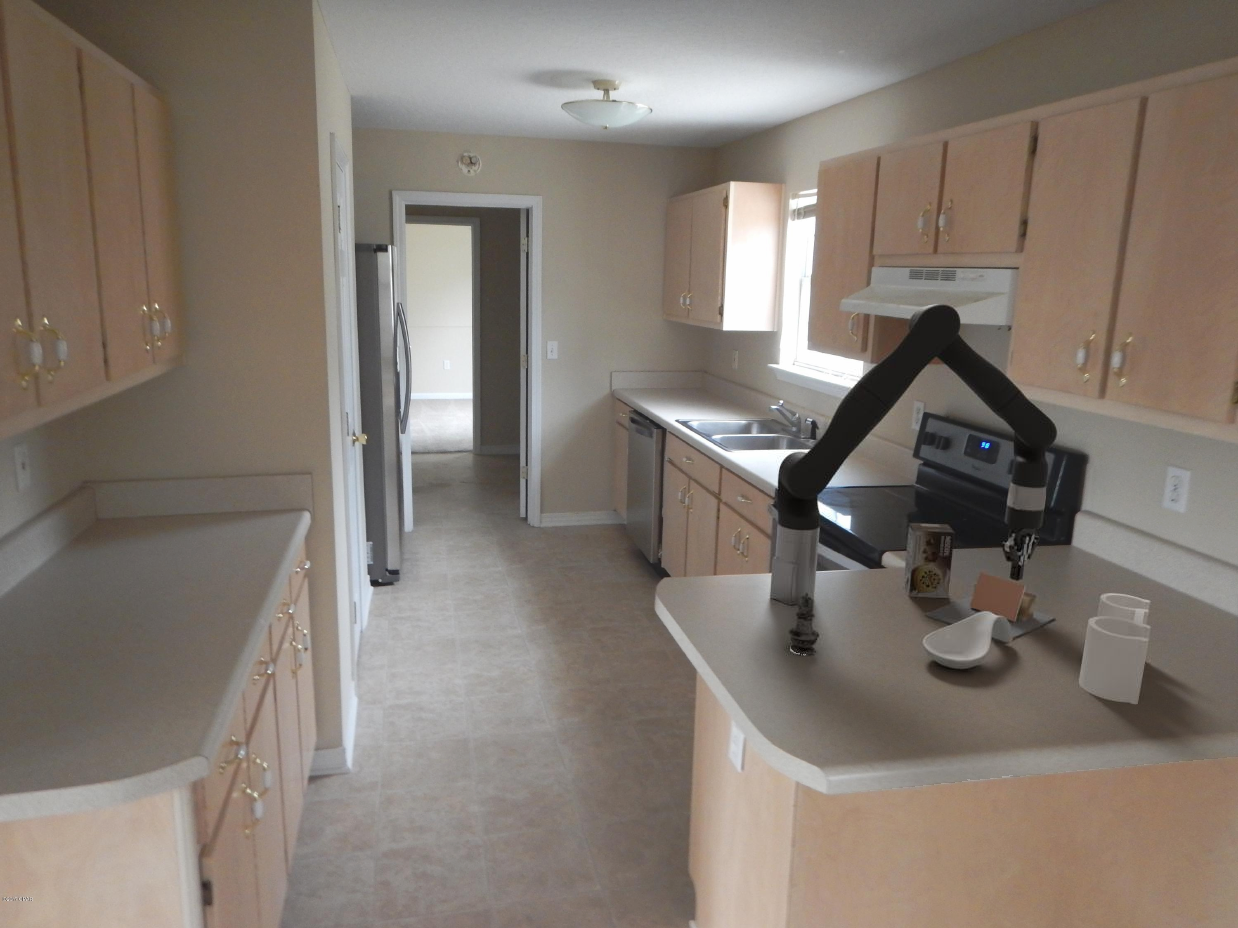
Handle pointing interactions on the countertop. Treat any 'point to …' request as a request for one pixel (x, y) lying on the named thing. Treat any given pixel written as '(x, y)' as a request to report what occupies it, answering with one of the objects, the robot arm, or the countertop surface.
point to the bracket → (1116, 648)
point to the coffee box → (928, 560)
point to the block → (1025, 606)
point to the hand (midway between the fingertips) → (1015, 579)
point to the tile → (997, 596)
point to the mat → (963, 611)
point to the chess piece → (804, 628)
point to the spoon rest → (967, 640)
